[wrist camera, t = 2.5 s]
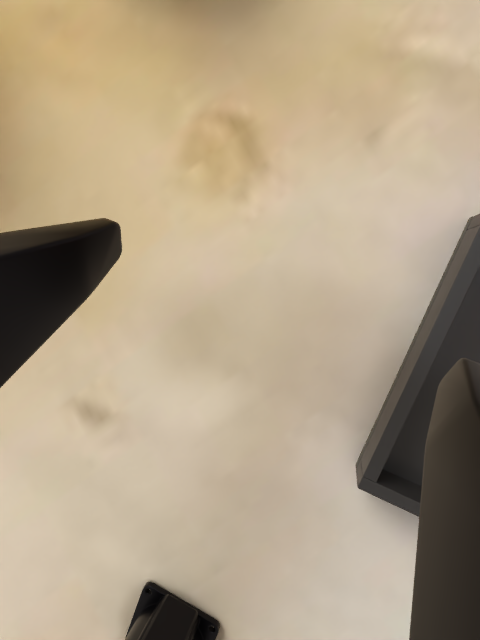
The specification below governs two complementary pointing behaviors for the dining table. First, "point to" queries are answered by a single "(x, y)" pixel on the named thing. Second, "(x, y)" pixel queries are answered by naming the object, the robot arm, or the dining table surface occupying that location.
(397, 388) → the tray
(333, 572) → the dining table surface
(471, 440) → the robot arm
